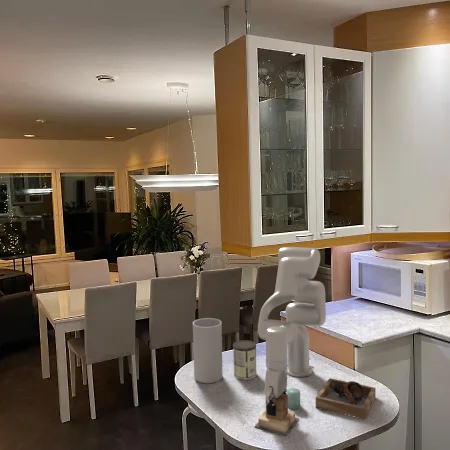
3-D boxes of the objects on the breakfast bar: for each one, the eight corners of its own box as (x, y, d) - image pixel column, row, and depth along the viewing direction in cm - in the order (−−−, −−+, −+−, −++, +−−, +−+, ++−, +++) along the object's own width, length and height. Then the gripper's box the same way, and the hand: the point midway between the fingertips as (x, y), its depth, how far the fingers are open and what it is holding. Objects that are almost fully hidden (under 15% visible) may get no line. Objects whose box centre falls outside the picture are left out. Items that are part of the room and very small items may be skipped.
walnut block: (272, 409, 162) (272, 391, 162) (288, 413, 159) (287, 394, 159) (265, 417, 157) (265, 398, 156) (281, 421, 154) (281, 402, 154)
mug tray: (329, 387, 185) (329, 378, 184) (375, 397, 176) (375, 387, 175) (315, 407, 169) (315, 397, 168) (365, 419, 160) (365, 409, 159)
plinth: (268, 411, 167) (268, 403, 166) (298, 419, 161) (298, 411, 160) (254, 427, 156) (254, 419, 156) (286, 436, 150) (286, 428, 150)
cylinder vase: (201, 369, 204) (200, 316, 201) (226, 373, 199) (225, 319, 197) (189, 381, 193) (187, 325, 190) (215, 386, 188) (214, 328, 185)
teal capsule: (290, 401, 174) (290, 387, 173) (302, 404, 171) (302, 390, 170) (285, 407, 169) (284, 392, 169) (297, 410, 167) (297, 395, 166)
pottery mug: (360, 394, 179) (366, 382, 175) (359, 415, 172) (366, 402, 167) (330, 385, 181) (336, 373, 176) (328, 405, 173) (334, 393, 169)
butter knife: (239, 424, 158) (247, 421, 159) (213, 391, 183) (220, 389, 184) (239, 425, 158) (247, 423, 159) (213, 393, 183) (220, 391, 184)
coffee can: (238, 368, 205) (238, 338, 204) (259, 371, 201) (259, 341, 199) (229, 377, 196) (229, 346, 194) (251, 381, 191) (251, 350, 190)
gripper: (276, 352, 165) (276, 395, 167) (256, 369, 151) (257, 417, 152) (295, 355, 162) (295, 400, 164) (277, 374, 147) (277, 423, 149)
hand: (277, 408), depth 158 cm, fingers open, 9 cm apart
